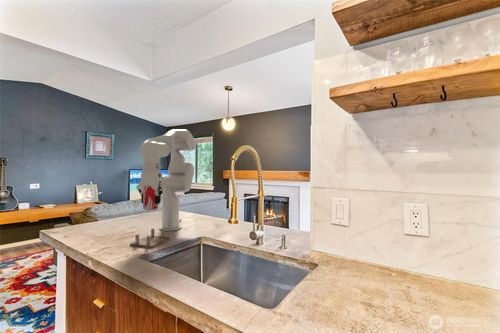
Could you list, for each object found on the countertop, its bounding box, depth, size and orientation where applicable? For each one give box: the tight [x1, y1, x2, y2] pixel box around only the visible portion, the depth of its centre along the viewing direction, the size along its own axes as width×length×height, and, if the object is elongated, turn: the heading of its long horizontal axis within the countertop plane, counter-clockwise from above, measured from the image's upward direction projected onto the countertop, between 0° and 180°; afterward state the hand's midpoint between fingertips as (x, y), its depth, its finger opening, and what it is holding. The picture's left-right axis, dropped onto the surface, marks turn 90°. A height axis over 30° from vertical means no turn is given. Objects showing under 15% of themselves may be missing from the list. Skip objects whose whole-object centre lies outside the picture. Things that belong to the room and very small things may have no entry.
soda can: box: [142, 186, 159, 212], centre depth 121 cm, size 7×7×12 cm
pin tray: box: [129, 228, 170, 249], centre depth 121 cm, size 14×12×5 cm
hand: (150, 203), depth 122 cm, fingers closed on soda can, 7 cm apart
